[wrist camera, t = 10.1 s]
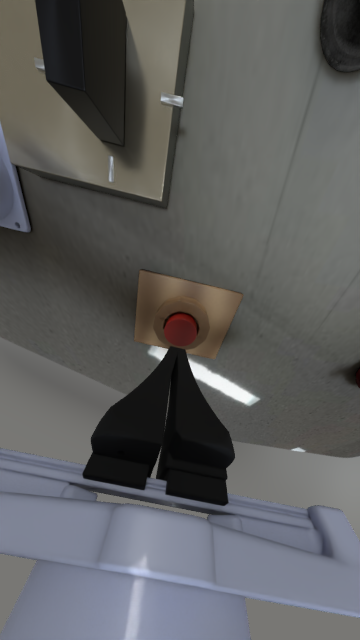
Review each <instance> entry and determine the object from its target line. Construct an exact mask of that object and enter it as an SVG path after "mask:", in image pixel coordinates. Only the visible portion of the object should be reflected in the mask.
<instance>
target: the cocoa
mask: <svg viewBox="0 0 360 640" xmlns="http://www.w3.org/2000/svg"><path fill="white" fill-rule="evenodd" d="M356 383H357V385H358V387H359V388H360V369H359V370H358V371H357V373H356Z"/></svg>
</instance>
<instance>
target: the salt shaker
mask: <svg viewBox="0 0 360 640" xmlns="http://www.w3.org/2000/svg"><path fill="white" fill-rule="evenodd" d="M321 42H322V47H323V52H324V55H325V57H326V59H327V60H328V62H329V64H330V65H331V66H333V67H334V68H335V69H337V70H339V71H345V72H350V71H354V70H358V69H360V0H325V1H324V6H323V12H322V18H321Z"/></svg>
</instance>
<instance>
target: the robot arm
mask: <svg viewBox="0 0 360 640" xmlns="http://www.w3.org/2000/svg"><path fill="white" fill-rule="evenodd" d="M19 225H20V226H19ZM0 226H2V227H6V228H10V229H14V230H18V231H22V232H30V231H31V227H30V223H29V219H28V215H27V211H26V207H25V203H24V199H23V195H22V191H21V186H20V182H19V178H18V174H17V170H16V166H15V165H13V164H11V162H10V158H9V154H8V150H7V146H6V143H5V139H4V135H3V131H2V127H1V123H0ZM170 381H171V385H170ZM169 388H170V397H169V407H168V413H167V419H166V412H167V403H168V396H169ZM165 420H166V425H165ZM164 430H165V431H164ZM91 444H92V450H93V453H92V455H91V457H90V459H89V461H88V463H87V465H83V464H78V463H73V462H68V461H63V460H58V459H53V458H48V457H43V456H38V455H33V454H28V453H23V452H18V451H13V450H8V449H3V448H0V554H5V555H11V556H17V557H22V558H27V559H33V560H37V561H36V563H35V565H34V567H33V569H32V571H31V573H30V575H29V577H28V579H27V581H26V583H25V585H24V587H23V589H22V591H21V594H20V595H19V597H18V599H17V601H16V604H15V606H14V608H13V610H12V612H11V614H10V616H9V618H8V620H7V622H6V624H5V626H4V628H3V630H2V632H1V634H0V640H251V638H250V631H249V623H248V618H247V610H246V603H245V598H251V599H257V600H262V601H268V602H274V603H279V604H285V605H290V606H296V607H302V608H307V609H313V610H319V611H324V612H330V613H335V614H341V615H347V616H353V617H358V618H360V541H359V539H358V538H357V536H356V534H355V532H354V531H353V529H352V527H351V525H350V523H349V522H348V520H347V518H346V516H345V515H344V513H343V511H341V510H340V509H336V508H331V507H326V506H320V505H317V506H316V505H315V506H311V507H309V508H308V509H304V508H299V507H294V506H289V505H284V504H279V503H274V502H268V501H264V500H258V499H253V498H249V497H244V496H239V495H234V494H229V493H227V487H226V479H227V471H226V468H227V467H228V466H229V465H230V464H231V463H232V462H233V460H234V458H235V453H234V449H233V444H232V441H231V437H230V434H229V432H228V430H227V429H226V428H225V427H224V425H223V424H222V423H221V422H220V420H219V419H218V418H217V416H216V415H215V413H214V412H213V410H212V409H211V407H210V406H209V404H208V403H207V401H206V400H205V398H204V396H203V394H202V393H201V391H200V389H199V387H198V385H197V383H196V381H195V378H194V376H193V373H192V371H191V368H190V365H189V362H188V358H187V354H186V350H185V349H182V348H177V347H173V346H170V347H169V349H168V352H167V353H166V355H165V357H164V358H163V360H162V361H161V362H160V364H159V365H158V366H157V367H156V369H155V370H154V371H153V372H152V373H151V374H150V375H149V376H148V377H147V378H146V379H145V380H144V381H143V382H142V383H141V384H140V385H139V386H138V387H137V388H135V389H134V390H133V391H132V392H131V393H129V394H128V395H127V396H126V397H124V398H123V399H121V400H120V401H118V402H117V403H116V404H115V405H113V406H111V407H110V409H109V410H108V411H107V412H106V414H105V415H104V416H103V418H102V419H101V421H100V422H99V424H98V425H97V427H96V429H95V431H94V433H93V435H92V437H91ZM161 446H162V448H161ZM160 449H161V454H160V459H159V464H158V470H157V475H156V479H153V478H150V477H151V474H152V471H153V468H154V466H155V464H156V461H157V458H158V455H159V452H160ZM91 491H93V492H99V493H104V494H109V495H114V496H119V497H125V498H129V499H134V500H140V501H145V502H150V503H155V504H160V505H165V506H170V507H176V508H181V509H186V510H191V511H196V512H201V513H207V514H211V515H208V517H207V519H205V518H202V517H198V516H194V515H189V514H184V513H179V512H174V511H168V510H163V509H158V508H153V507H148V506H143V505H136V504H119V503H109V502H99V501H96V499H97V494H96V493H93V492H91Z"/></svg>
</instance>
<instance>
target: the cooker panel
mask: <svg viewBox="0 0 360 640" xmlns="http://www.w3.org/2000/svg"><path fill="white" fill-rule="evenodd" d="M122 1H123V4H124V8H125V11H126V35H125V90H124V144H123V145H119V144H115V143H112V142H108V141H104V140H100V139H98V138H97V137H96V136H95V134H94V133H93V132H92V131H91V130H90V129H89V128H88V127H87V126H86V124H85V123H84V122H83V121H82V120H81V119H80V118H79V117H78V115H77V114H76V113H75V112H74V111H73V110H72V109H71V108H70V107H69V105H68V104H67V103H66V102H65V101H64V100H63V99H62V98H61V96H60V95H59V94H58V93H57V92H56V91H55V90H54V89H53V87H52V86H51V85H50V84H49V83H48V82H47V81H46V76H45V69H44V61H43V54H42V47H41V40H40V33H39V26H38V18H37V11H36V4H35V0H0V123H1V127H2V131H3V135H4V139H5V143H6V146H7V150H8V154H9V158H10V162H11V164H13V165H15V166H18V167H20V168H22V169H24V170H26V171H29V172H31V173H33V174H35V175H38V176H40V177H43V178H47V179H51V180H55V181H59V182H63V183H67V184H71V185H75V186H79V187H83V188H86V189H90V190H94V191H98V192H102V193H106V194H110V195H114V196H118V197H122V198H126V199H130V200H134V201H138V202H142V203H146V204H150V205H154V206H158V207H162V208H167V205H168V197H169V190H170V183H171V175H172V168H173V161H174V153H175V146H176V139H177V132H178V124H179V117H180V110H181V109H182V108H183V101H184V98H182V95H183V88H184V81H185V73H186V66H187V59H188V51H189V44H190V37H191V29H192V22H193V15H194V0H122Z"/></svg>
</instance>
